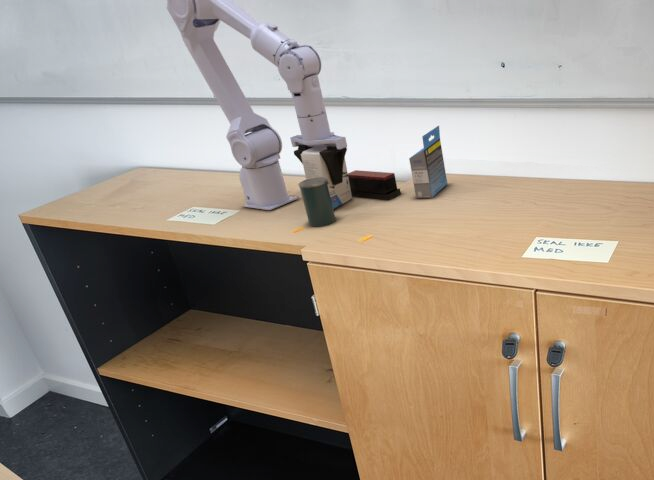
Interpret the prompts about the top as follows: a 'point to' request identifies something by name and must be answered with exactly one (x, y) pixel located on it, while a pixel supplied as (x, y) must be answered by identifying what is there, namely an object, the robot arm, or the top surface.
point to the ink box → (326, 175)
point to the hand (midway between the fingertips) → (327, 182)
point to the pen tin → (317, 201)
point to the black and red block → (373, 185)
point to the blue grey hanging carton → (429, 167)
